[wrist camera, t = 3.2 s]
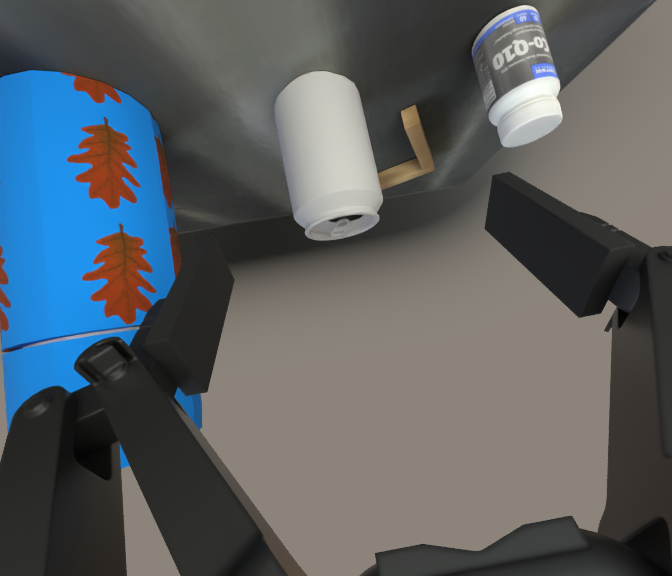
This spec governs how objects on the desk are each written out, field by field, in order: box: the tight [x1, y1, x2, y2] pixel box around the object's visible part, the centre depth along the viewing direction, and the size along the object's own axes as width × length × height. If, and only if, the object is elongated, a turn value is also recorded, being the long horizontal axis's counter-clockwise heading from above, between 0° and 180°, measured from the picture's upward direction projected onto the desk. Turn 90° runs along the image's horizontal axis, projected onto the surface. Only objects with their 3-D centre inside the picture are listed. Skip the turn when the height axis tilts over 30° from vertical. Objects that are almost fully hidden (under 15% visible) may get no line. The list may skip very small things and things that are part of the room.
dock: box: [377, 105, 435, 190], centre depth 39 cm, size 15×12×2 cm
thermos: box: [0, 70, 202, 469], centre depth 23 cm, size 11×11×25 cm
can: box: [274, 71, 383, 240], centre depth 26 cm, size 8×8×12 cm
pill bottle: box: [472, 5, 562, 147], centre depth 24 cm, size 5×5×8 cm
